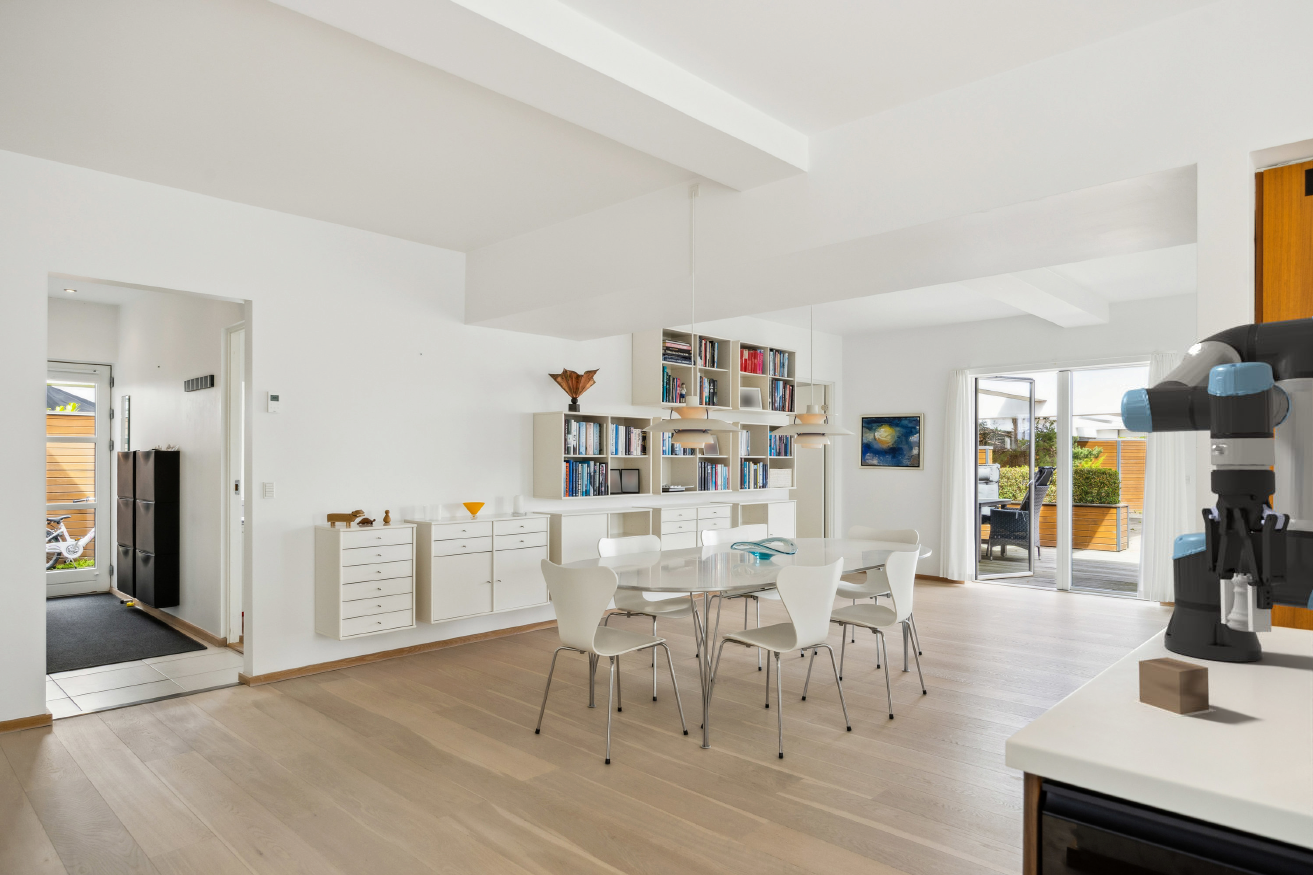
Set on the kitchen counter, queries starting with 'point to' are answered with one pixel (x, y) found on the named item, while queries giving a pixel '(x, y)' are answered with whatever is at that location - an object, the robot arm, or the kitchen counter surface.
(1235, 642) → the robot arm
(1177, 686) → the walnut cube
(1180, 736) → the kitchen counter surface
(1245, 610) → the rook chess piece
